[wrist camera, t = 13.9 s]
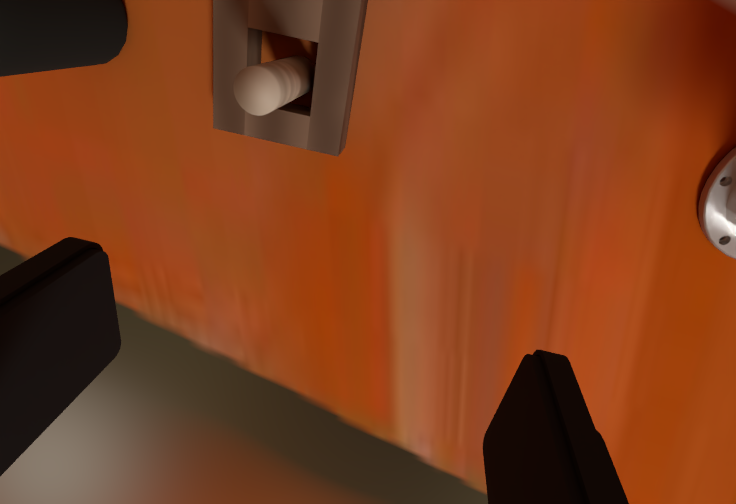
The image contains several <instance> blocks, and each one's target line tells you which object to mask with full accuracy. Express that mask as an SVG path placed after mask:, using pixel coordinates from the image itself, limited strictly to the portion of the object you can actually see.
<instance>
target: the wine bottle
mask: <svg viewBox="0 0 736 504" xmlns="http://www.w3.org/2000/svg"><path fill="white" fill-rule="evenodd" d="M127 27H128V24H127V18H126V13H125V7H124V5H123V3H122V1H121V0H0V77H1V76H9V75H17V74H25V73H33V72H41V71H49V70H57V69H66V68H74V67H82V66H90V65H97V64H104V63H107V62H109V61H110V60H111V59H113V58H114V57H116V56H117V55H119V53H120V51H121V49H122V47H123V46H124V44H125V42H126V36H127Z"/></svg>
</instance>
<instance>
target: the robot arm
mask: <svg viewBox="0 0 736 504" xmlns="http://www.w3.org/2000/svg"><path fill="white" fill-rule="evenodd" d="M698 210H699V222H700V225H701V229H702V231H703V233H704V234H705V236H706V238H707V239H708V240H709V241H710V242H711V243H712V244H713V245H714V246H715V247H716V248H717V249H719V250H720V251H722V252H723V253H724V254H726V255H727V256H730V257H732V258H734V259H736V147H735V148H734V149H732V150H731V151H730V152H729V153H728V154H727V155H726V156H725V157H724V158H723V159H722V160H721V161H720V163H719V164H718V165H717V166H716V167H715V169H714V170H713V172H712V173H711V175H710V176H709V178H708V179H707V182H706V184H705V186H704V188H703V190H702V193H701V197H700V201H699V206H698ZM120 346H121V339H120V331H119V325H118V318H117V311H116V305H115V298H114V292H113V285H112V278H111V272H110V265H109V258H108V255H107V254H106V252H103V249H102V247H101V246H100V245H99V244H97V243H95V242H91V241H86V240H82V239H78V238H74V237H68V238H65V239H63V240H61V241H60V242H58V243H56V244H54V245H53V246H51V247H49V248H47V249H46V250H44V251H42V252H40V253H39V254H37V255H35V256H34V257H32V258H30V259H28V260H27V261H25V262H23V263H21V264H20V265H18V266H16V267H15V268H13V269H11V270H9V271H8V272H6V273H4V274H2V275H1V276H0V476H1V475H2V474H3V473H4V472H5V471H6V470H7V469H8V468H9V467H10V466H11V465H12V464H13V463H14V462H15V460H16V459H17V458H18V457H19V456H20V455H21V454H22V453H23V452H24V451H25V450H26V449H27V448H28V447H29V446H30V445H31V444H32V443H33V442H34V441H35V440H36V439H37V438H38V437H39V436H40V435H41V433H42V432H43V431H45V429H46V428H47V427H48V426H49V425H50V424H51V423H52V422H53V421H54V420H55V419H56V418H57V417H58V416H59V415H60V414H61V413H62V412H63V411H64V410H65V409H66V408H67V407H68V406H69V405H70V403H72V402H73V401H74V399H75V398H76V397H77V396H78V395H79V394H80V393H81V392H82V391H83V390H84V389H85V388H86V387H87V386H88V385H89V384H90V383H91V382H92V381H93V380H94V379H95V378H96V377H97V376H98V375H99V373H101V371H102V370H103V369H104V368H105V367H106V366H107V365H108V364H109V363H110V362H111V361H112V360H113V359H114V358H115V357H116V356H117V354H118V352H119V350H120ZM483 456H484V466H485V475H486V485H487V495H488V504H629V503H628V500H627V498H626V495H625V493H624V490H623V488H622V485H621V483H620V480H619V477H618V475H617V472H616V470H615V467H614V465H613V462H612V460H611V457H610V455H609V452H608V450H607V447H606V444H605V442H604V440H603V438H602V436H601V434H600V433H599V432H598V431H597V430H596V429H595V427H594V424H593V421H592V419H591V416H590V414H589V411H588V408H587V406H586V403H585V401H584V398H583V395H582V393H581V390H580V388H579V385H578V382H577V380H576V377H575V375H574V372H573V369H572V367H571V364H570V362H569V360H568V358H567V357H566V356H564V355H560V354H555V353H551V352H547V351H543V350H536V351H535V352H534V353H533V355H530V354H526V355H525V356H524V358H523V359H522V361H521V363H520V365H519V367H518V369H517V371H516V373H515V375H514V377H513V379H512V381H511V383H510V385H509V387H508V389H507V391H506V393H505V395H504V397H503V399H502V401H501V403H500V405H499V407H498V409H497V411H496V413H495V415H494V417H493V419H492V421H491V423H490V425H489V427H488V429H487V431H486V433H485V436H484V441H483Z"/></svg>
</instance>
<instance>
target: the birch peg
mask: <svg viewBox="0 0 736 504" xmlns="http://www.w3.org/2000/svg"><path fill="white" fill-rule="evenodd" d="M314 78H315V66H314V64H313V63H312V61H311V60H309V59H308V58H307V57H304V56H300V55H297V56H292V57H288V58H284V59H279V60H275V61H271V62H266V63H262V64H258V65H253V66H249V67H246V68H244V69H242V70H241V71H240V72H239V73H238V74H237V75H236V77H235V80H234V85H233V89H234V95H235V98H236V100H237V102H238V103H239V105H240V106H241V107H242V108H243V109H244V110H245V111H246V112H248V113H250V114H252V115H257V116H262V115H266V114H268V113H270V112H272V111H274V110H276V109H277V108H279V107H281V106H283V105H285V104H287V103H289V102H291V101H292V100H294V99H296V98H298V97H300V96H302V95H304V94H306V93H308V92H309V91H311V90H312V89H313V87H314Z"/></svg>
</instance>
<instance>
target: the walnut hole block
mask: <svg viewBox="0 0 736 504" xmlns="http://www.w3.org/2000/svg"><path fill="white" fill-rule="evenodd" d="M367 3H368V0H213V128H215V129H219V130H224V131H228V132H233V133H237V134H241V135H246V136H250V137H255V138H259V139H263V140H268V141H272V142H277V143H281V144H286V145H290V146H294V147H299V148H303V149H308V150H312V151H316V152H321V153H325V154H330V155H334V156H339V154H340V153H341V152H342V150H343V149H344V148H345V143H346V137H347V131H348V124H349V118H350V112H351V105H352V99H353V92H354V86H355V80H356V73H357V67H358V60H359V54H360V48H361V41H362V35H363V29H364V22H365V16H366V9H367ZM262 31H267V32H271V33H276V34H281V35H285V36H290V37H295V38H299V39H304V40H308V41H313V42H318V50H317V59H316V68H315V78H314V87H313V96H312V105H311V108H309V107H304V106H300V105H295V104H291V103H287V104H285V105H283V106H281V107H279V108H277V109H276V110H274V111H272V112H270V113H268V114H266V115H262V116H257V115H252V114H250V113H248V112H246V111H245V110H244V109H243V108H242V107H241V106H240V105H239V103H238V102H237V100H236V98H235V95H234V89H233V85H234V80H235V77H236V75H237V74H238V73H239V72H240V71H241V70H242V69H244V68H246V67H249V66H253V65H258V64H261V47H262Z"/></svg>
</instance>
